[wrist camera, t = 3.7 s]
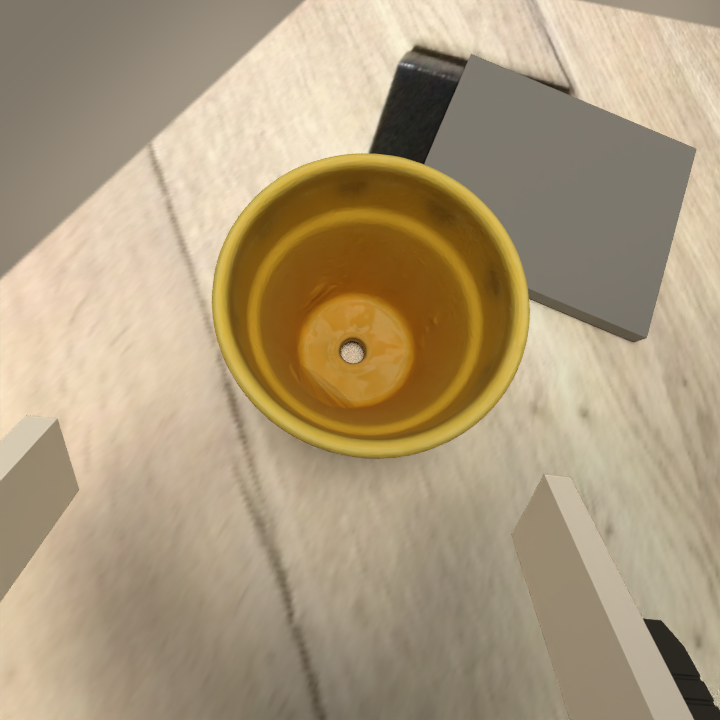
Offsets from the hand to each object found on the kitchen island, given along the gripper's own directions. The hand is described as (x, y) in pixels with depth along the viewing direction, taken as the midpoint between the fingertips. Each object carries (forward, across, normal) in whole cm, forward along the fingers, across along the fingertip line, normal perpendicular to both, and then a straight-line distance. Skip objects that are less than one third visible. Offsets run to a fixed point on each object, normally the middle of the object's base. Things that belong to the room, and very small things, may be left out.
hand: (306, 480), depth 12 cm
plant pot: (+12, +2, -3) cm, 12 cm away
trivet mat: (+19, +12, +5) cm, 23 cm away
